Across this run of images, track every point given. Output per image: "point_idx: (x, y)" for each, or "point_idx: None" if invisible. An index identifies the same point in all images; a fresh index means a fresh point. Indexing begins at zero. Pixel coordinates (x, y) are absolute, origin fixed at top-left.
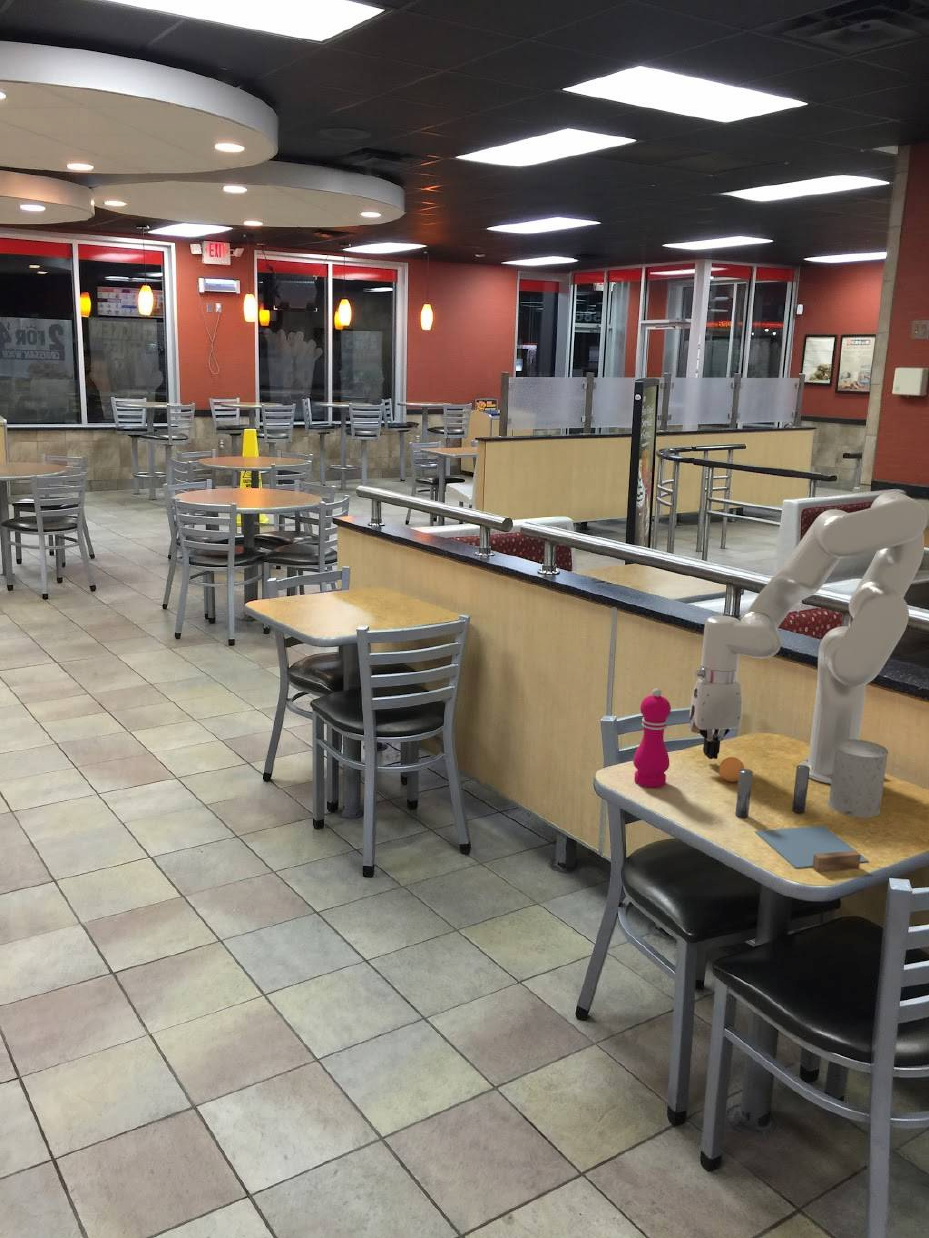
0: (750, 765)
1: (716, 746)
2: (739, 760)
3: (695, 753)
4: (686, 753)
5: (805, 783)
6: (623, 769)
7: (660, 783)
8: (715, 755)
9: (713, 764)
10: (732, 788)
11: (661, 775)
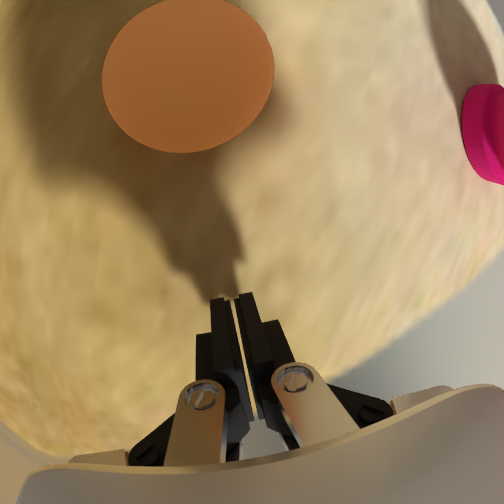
0: (57, 292)
1: (228, 343)
2: (129, 37)
3: None
4: None
5: None
6: (500, 233)
7: (483, 84)
8: (224, 306)
9: None
10: None
11: (498, 97)
